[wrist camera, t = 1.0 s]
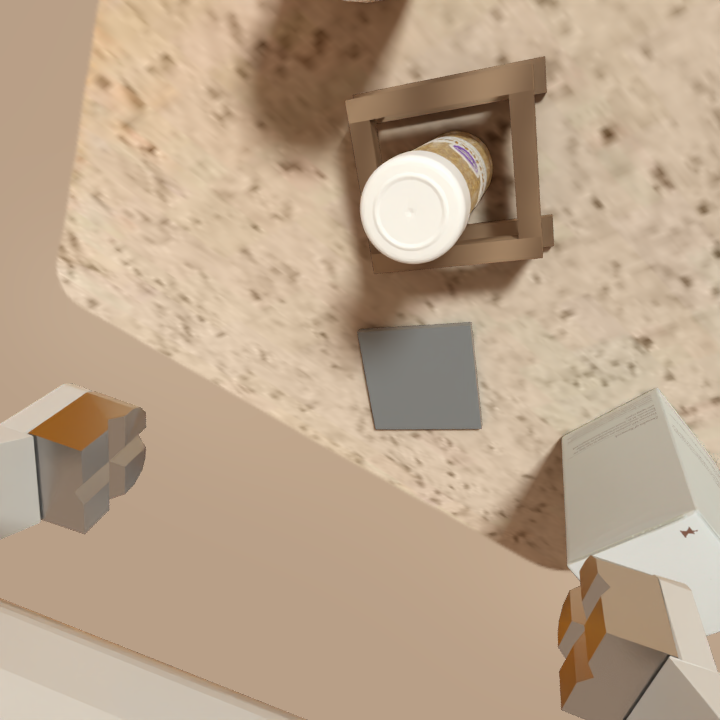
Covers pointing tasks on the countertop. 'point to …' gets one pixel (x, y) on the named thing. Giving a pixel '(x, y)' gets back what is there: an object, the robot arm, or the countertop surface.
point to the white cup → (362, 0)
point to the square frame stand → (519, 87)
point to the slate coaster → (422, 376)
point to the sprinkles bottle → (425, 197)
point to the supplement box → (645, 498)
